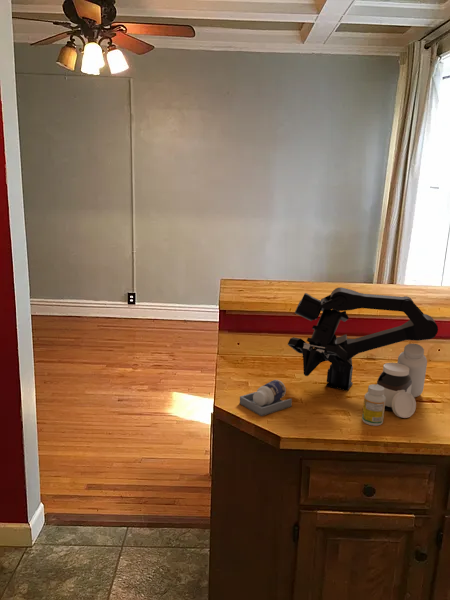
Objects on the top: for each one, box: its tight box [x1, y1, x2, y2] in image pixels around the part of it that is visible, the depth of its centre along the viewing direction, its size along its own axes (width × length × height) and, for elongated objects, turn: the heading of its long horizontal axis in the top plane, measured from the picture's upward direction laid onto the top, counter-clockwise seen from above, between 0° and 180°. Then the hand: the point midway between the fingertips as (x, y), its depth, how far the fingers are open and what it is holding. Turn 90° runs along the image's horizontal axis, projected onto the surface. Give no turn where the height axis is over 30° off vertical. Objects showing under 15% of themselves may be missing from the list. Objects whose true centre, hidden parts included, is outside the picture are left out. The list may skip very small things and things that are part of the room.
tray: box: [239, 391, 293, 417], centre depth 147 cm, size 11×9×2 cm
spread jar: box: [376, 362, 417, 419], centre depth 147 cm, size 12×11×12 cm
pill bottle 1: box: [253, 379, 287, 406], centre depth 147 cm, size 5×5×10 cm
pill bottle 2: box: [397, 343, 428, 398], centre depth 155 cm, size 8×8×15 cm
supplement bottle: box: [361, 383, 386, 426], centre depth 139 cm, size 5×5×10 cm
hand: (305, 375), depth 154 cm, fingers closed
